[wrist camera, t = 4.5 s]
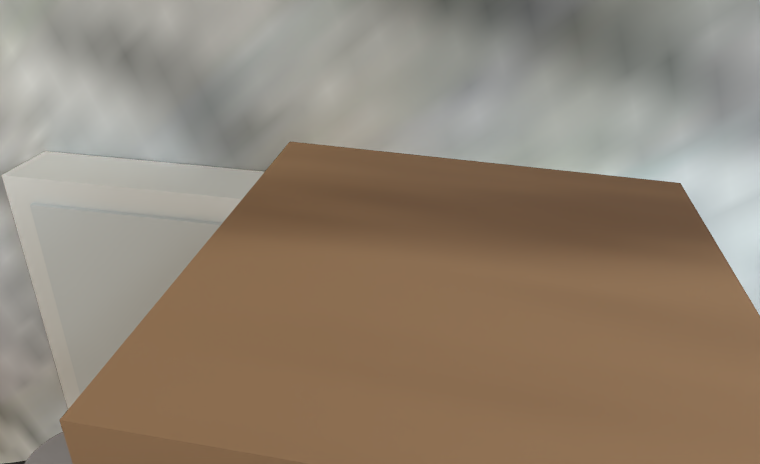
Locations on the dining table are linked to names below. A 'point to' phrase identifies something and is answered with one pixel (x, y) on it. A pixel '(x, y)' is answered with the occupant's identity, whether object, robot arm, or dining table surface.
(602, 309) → the walnut cube
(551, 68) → the dining table surface
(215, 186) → the tray
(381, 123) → the dining table surface
